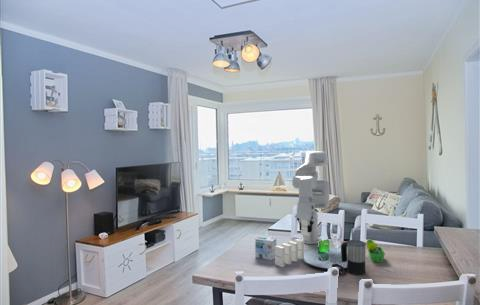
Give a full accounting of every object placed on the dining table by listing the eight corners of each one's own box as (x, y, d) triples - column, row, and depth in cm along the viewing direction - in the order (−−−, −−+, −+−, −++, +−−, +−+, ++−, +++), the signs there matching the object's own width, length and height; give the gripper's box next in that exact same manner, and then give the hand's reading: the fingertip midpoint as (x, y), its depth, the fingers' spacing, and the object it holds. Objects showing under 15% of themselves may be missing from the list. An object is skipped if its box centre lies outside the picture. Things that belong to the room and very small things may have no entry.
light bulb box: (255, 257, 191) (254, 238, 190) (259, 253, 197) (259, 235, 196) (272, 260, 186) (272, 241, 185) (276, 256, 192) (276, 237, 191)
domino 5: (303, 233, 195) (303, 216, 195) (310, 235, 191) (310, 217, 191) (301, 234, 194) (300, 217, 193) (308, 236, 190) (308, 218, 190)
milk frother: (369, 271, 169) (369, 242, 168) (355, 281, 157) (355, 250, 157) (342, 264, 178) (342, 236, 178) (328, 273, 167) (328, 243, 166)
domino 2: (284, 261, 184) (284, 243, 184) (291, 263, 181) (291, 245, 180) (281, 262, 183) (281, 243, 183) (289, 264, 179) (288, 245, 179)
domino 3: (290, 258, 188) (290, 241, 188) (297, 260, 184) (297, 242, 184) (288, 259, 187) (288, 241, 186) (295, 261, 183) (295, 243, 182)
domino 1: (277, 263, 181) (277, 245, 180) (284, 266, 177) (284, 247, 177) (275, 264, 179) (274, 246, 179) (282, 267, 176) (282, 248, 175)
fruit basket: (385, 263, 179) (385, 242, 179) (368, 262, 181) (368, 241, 181) (380, 256, 190) (381, 236, 190) (364, 255, 192) (364, 235, 192)
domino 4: (296, 256, 192) (296, 239, 191) (304, 258, 188) (303, 240, 188) (294, 257, 190) (294, 239, 190) (301, 259, 187) (301, 241, 186)
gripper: (321, 200, 188) (322, 232, 188) (297, 197, 201) (297, 227, 201) (313, 202, 183) (314, 235, 183) (289, 198, 196) (289, 229, 196)
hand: (305, 230), depth 192 cm, fingers closed on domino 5, 4 cm apart
